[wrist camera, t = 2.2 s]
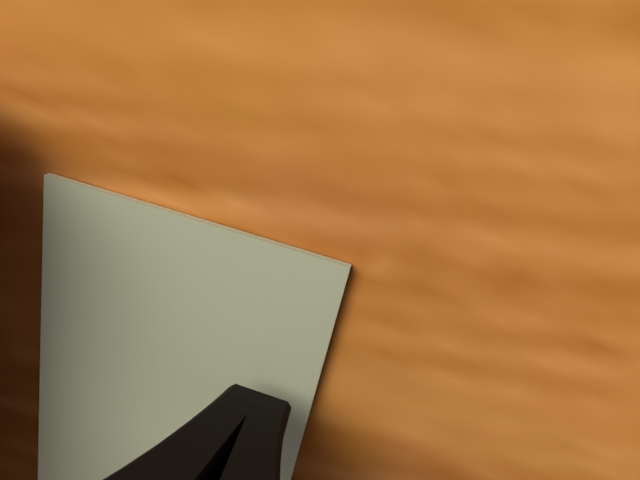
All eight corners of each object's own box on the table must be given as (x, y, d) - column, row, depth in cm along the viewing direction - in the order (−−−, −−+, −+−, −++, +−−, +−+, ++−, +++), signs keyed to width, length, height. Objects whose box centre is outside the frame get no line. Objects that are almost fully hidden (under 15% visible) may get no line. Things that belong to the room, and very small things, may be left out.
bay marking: (262, 578, 14) (260, 585, 14) (42, 492, 15) (37, 498, 14) (351, 264, 10) (350, 267, 10) (50, 172, 11) (43, 174, 11)
